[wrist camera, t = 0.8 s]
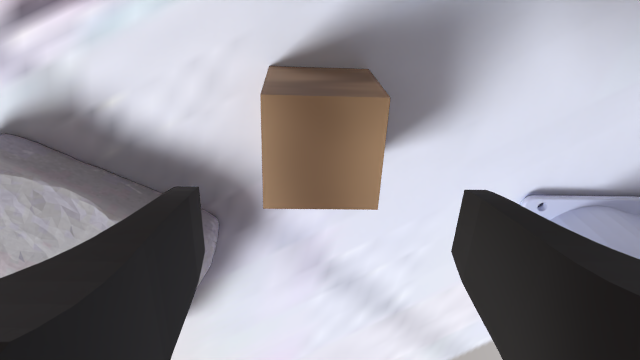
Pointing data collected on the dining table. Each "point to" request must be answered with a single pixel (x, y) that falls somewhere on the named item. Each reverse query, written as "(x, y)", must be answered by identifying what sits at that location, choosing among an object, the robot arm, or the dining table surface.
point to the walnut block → (322, 138)
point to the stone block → (64, 204)
